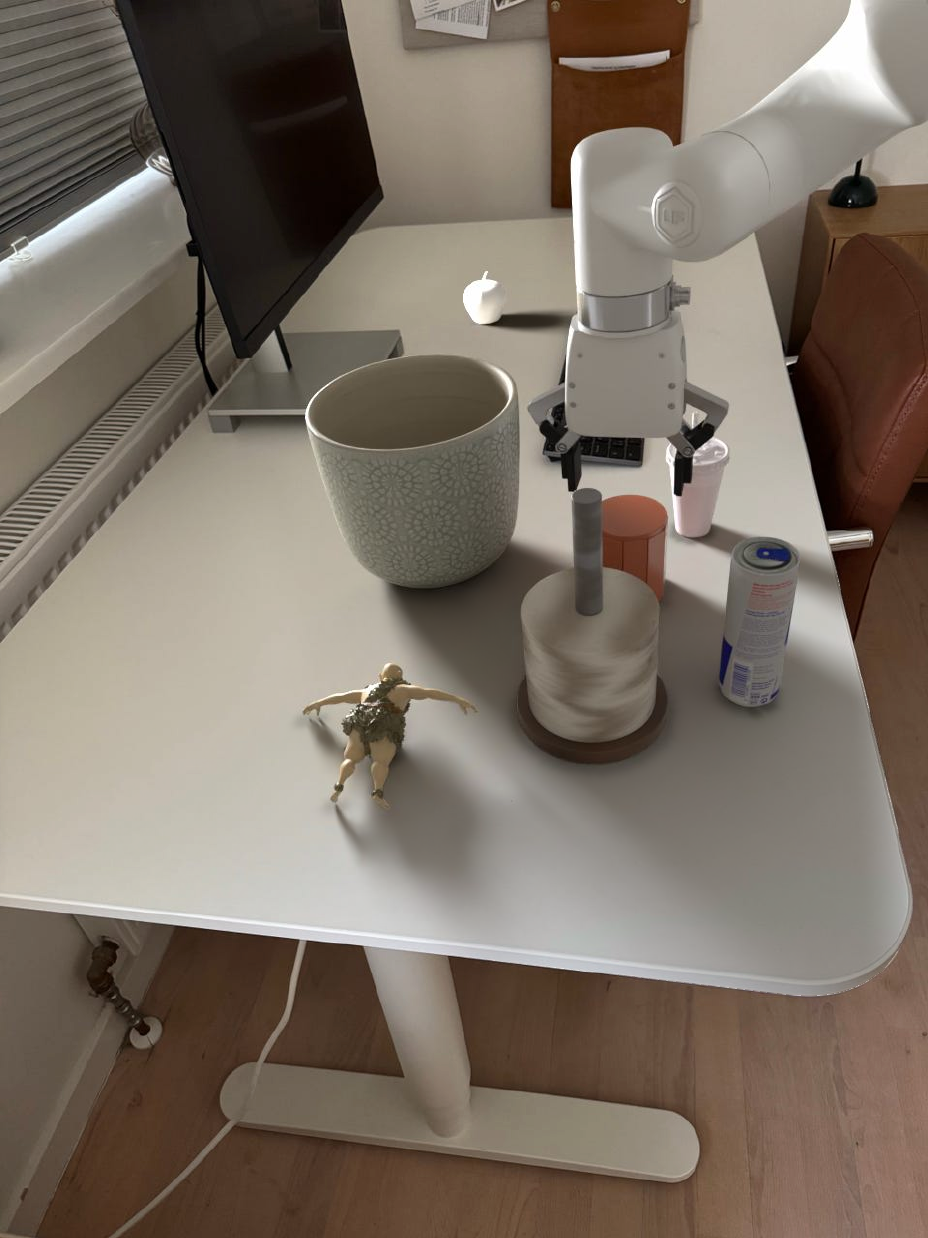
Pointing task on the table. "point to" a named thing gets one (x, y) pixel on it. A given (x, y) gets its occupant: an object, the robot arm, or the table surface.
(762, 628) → the beverage can
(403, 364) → the planter
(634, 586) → the towel holder
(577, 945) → the table surface
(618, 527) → the orange brown faceted cylinder
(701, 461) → the smoothie
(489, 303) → the plain white apple
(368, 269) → the table surface
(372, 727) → the figurine
